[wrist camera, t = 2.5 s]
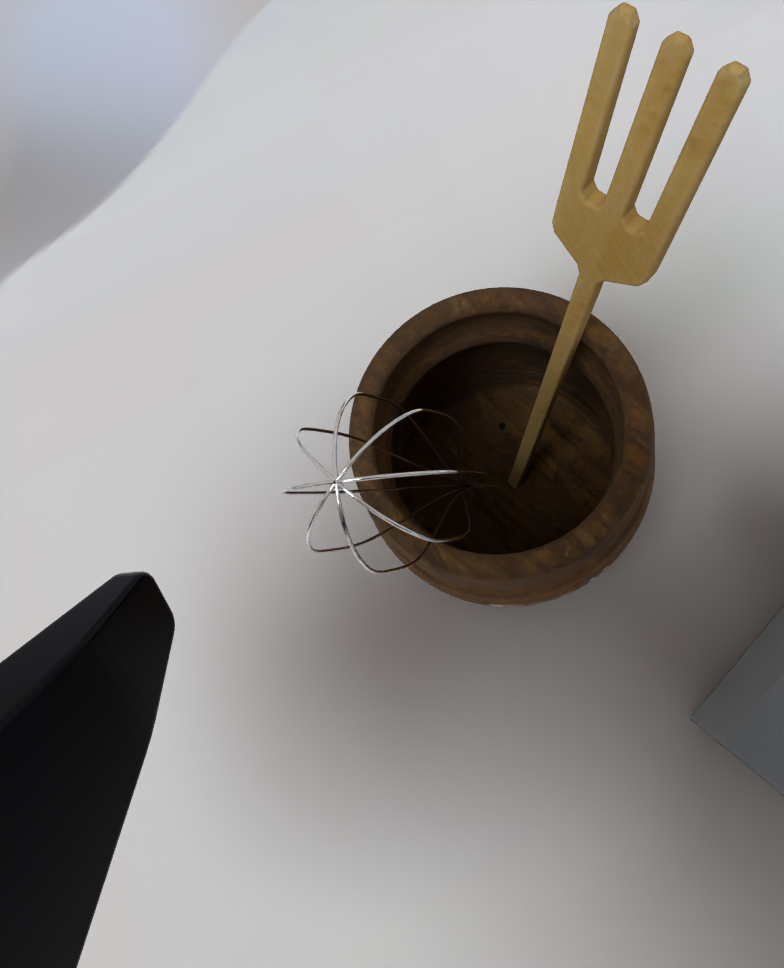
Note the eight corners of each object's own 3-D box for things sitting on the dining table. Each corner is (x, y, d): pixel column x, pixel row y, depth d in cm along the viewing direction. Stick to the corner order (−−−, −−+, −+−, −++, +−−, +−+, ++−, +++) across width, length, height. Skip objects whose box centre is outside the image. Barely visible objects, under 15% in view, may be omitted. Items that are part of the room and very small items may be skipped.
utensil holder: (356, 507, 19) (61, 369, 7) (502, 330, 19) (443, -99, 7) (526, 654, 17) (499, 781, 6) (686, 462, 17) (995, 193, 6)
